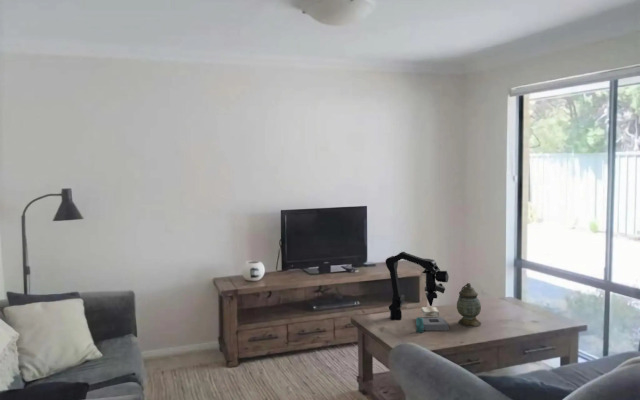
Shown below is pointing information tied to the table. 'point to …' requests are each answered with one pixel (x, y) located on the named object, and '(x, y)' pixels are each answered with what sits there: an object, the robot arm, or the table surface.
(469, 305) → the lidded ginger jar
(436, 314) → the sliding lid
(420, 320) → the teal peg
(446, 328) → the socket block
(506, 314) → the table surface
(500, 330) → the table surface
